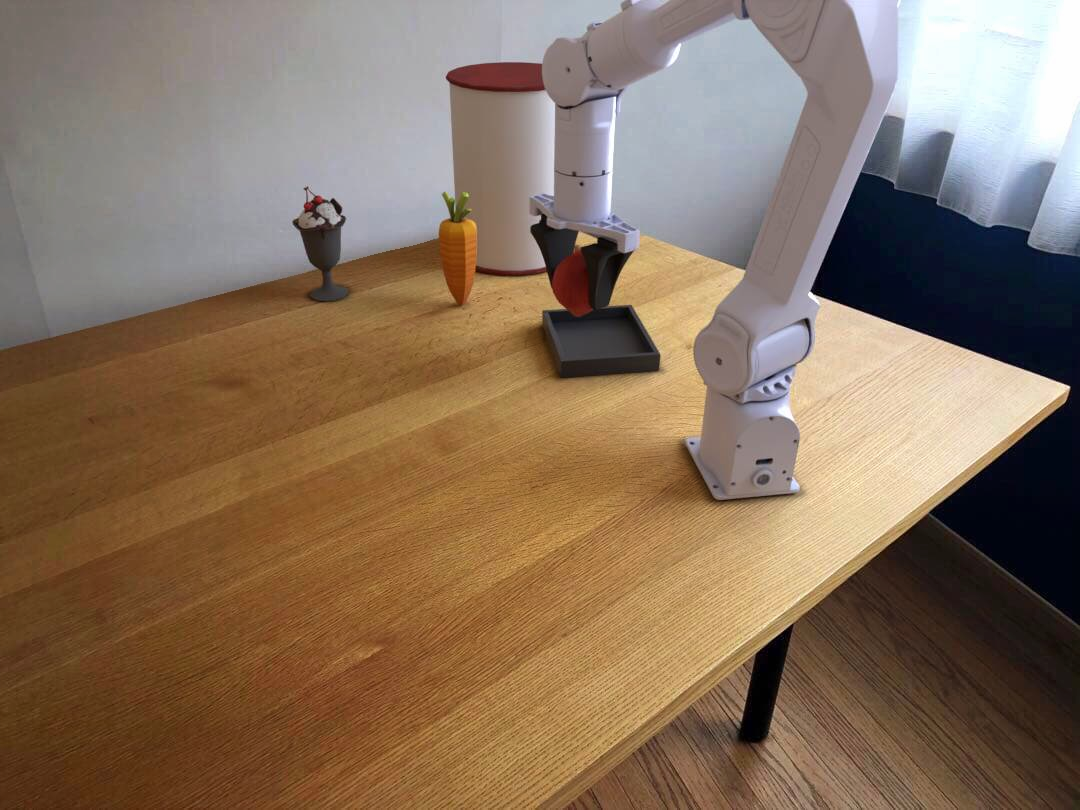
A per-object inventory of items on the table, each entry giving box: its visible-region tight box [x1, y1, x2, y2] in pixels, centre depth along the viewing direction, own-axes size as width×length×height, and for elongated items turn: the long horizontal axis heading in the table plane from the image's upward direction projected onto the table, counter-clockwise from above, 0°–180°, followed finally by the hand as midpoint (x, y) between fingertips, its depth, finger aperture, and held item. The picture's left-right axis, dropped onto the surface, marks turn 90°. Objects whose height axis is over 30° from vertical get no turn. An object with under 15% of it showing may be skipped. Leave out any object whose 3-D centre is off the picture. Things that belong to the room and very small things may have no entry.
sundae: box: [291, 185, 349, 303], centre depth 110 cm, size 7×7×15 cm
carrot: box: [438, 191, 477, 307], centre depth 107 cm, size 5×5×15 cm
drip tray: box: [541, 304, 661, 379], centre depth 101 cm, size 13×11×2 cm
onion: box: [551, 244, 593, 317], centre depth 90 cm, size 6×6×8 cm
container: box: [445, 61, 555, 277], centre depth 120 cm, size 17×17×25 cm
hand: (579, 296), depth 91 cm, fingers closed on onion, 6 cm apart
